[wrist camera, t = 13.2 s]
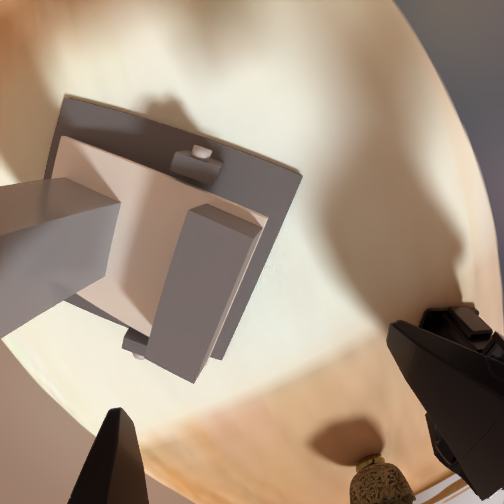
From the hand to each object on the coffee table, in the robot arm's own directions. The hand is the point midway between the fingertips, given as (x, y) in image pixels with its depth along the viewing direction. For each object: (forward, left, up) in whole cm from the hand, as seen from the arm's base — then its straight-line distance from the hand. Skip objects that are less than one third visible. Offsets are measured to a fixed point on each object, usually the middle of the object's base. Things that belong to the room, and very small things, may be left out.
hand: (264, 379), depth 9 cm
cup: (-26, -17, -13) cm, 34 cm away
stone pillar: (+1, +11, -11) cm, 15 cm away
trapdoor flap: (0, +8, -10) cm, 13 cm away
